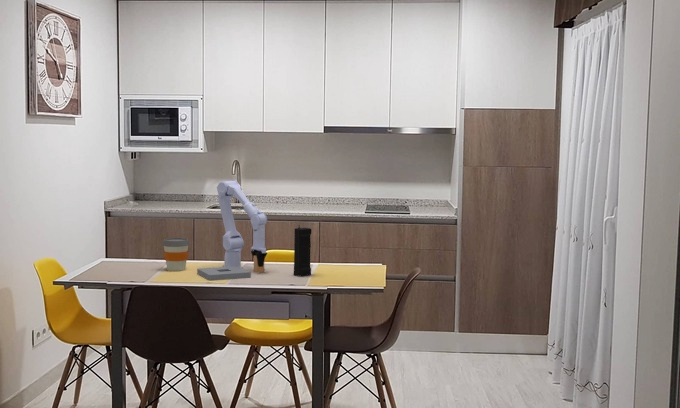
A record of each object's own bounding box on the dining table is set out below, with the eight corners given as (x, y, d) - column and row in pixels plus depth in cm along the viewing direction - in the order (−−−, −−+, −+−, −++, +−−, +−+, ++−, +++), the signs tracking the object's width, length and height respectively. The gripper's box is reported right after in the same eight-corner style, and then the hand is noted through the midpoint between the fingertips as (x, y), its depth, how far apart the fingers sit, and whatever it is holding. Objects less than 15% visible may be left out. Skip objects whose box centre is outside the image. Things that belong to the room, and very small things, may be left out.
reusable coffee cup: (192, 267, 402) (191, 238, 401) (184, 272, 389) (184, 241, 388) (167, 267, 403) (167, 237, 402) (159, 271, 391) (159, 241, 389)
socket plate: (197, 273, 385) (197, 268, 384) (236, 270, 394) (236, 265, 393) (209, 280, 367) (209, 275, 367) (250, 277, 376) (250, 272, 376)
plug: (253, 271, 392) (253, 255, 392) (261, 270, 394) (261, 254, 393) (256, 272, 389) (256, 256, 388) (264, 272, 390) (264, 256, 390)
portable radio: (305, 273, 388) (305, 222, 386) (313, 274, 384) (313, 223, 381) (292, 275, 383) (292, 223, 381) (300, 276, 378) (300, 224, 376)
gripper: (246, 237, 395) (246, 264, 396) (256, 240, 382) (256, 268, 383) (259, 236, 398) (259, 263, 399) (270, 239, 385) (270, 267, 386)
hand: (259, 265), depth 391 cm, fingers closed on plug, 4 cm apart
